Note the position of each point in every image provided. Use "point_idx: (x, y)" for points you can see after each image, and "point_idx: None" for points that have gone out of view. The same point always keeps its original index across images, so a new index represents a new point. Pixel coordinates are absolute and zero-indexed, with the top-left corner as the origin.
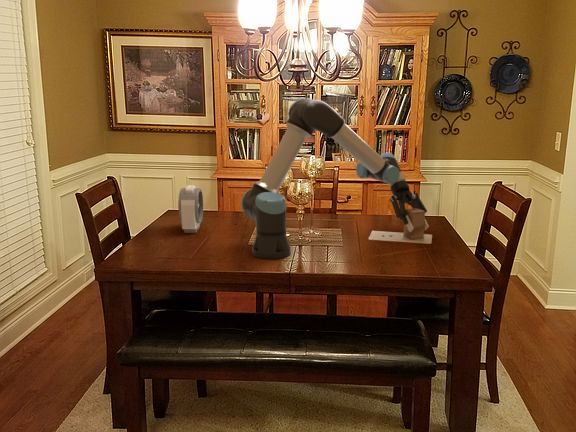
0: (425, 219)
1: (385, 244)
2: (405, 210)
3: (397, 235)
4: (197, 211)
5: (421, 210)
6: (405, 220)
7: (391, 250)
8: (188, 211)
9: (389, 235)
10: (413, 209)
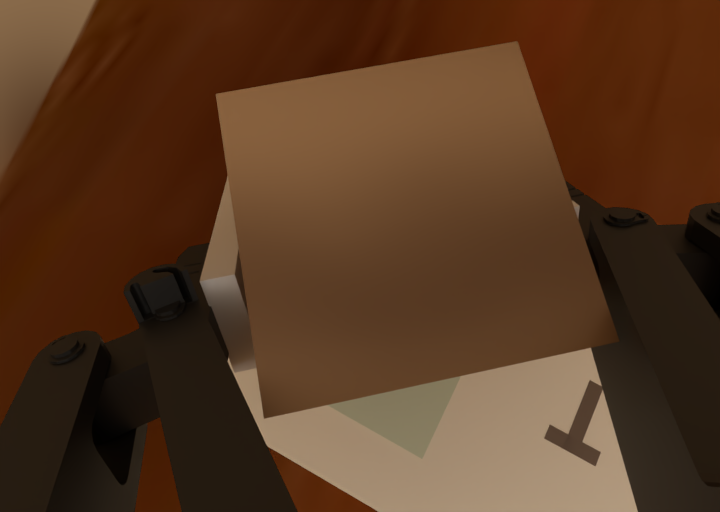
0: (217, 222)
1: (682, 219)
2: (598, 308)
3: (503, 431)
4: None
5: (265, 154)
6: (572, 191)
7: (671, 65)
8: None
9: (589, 452)
10: (402, 286)
